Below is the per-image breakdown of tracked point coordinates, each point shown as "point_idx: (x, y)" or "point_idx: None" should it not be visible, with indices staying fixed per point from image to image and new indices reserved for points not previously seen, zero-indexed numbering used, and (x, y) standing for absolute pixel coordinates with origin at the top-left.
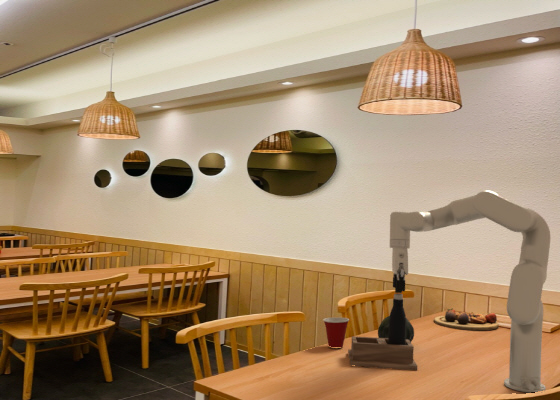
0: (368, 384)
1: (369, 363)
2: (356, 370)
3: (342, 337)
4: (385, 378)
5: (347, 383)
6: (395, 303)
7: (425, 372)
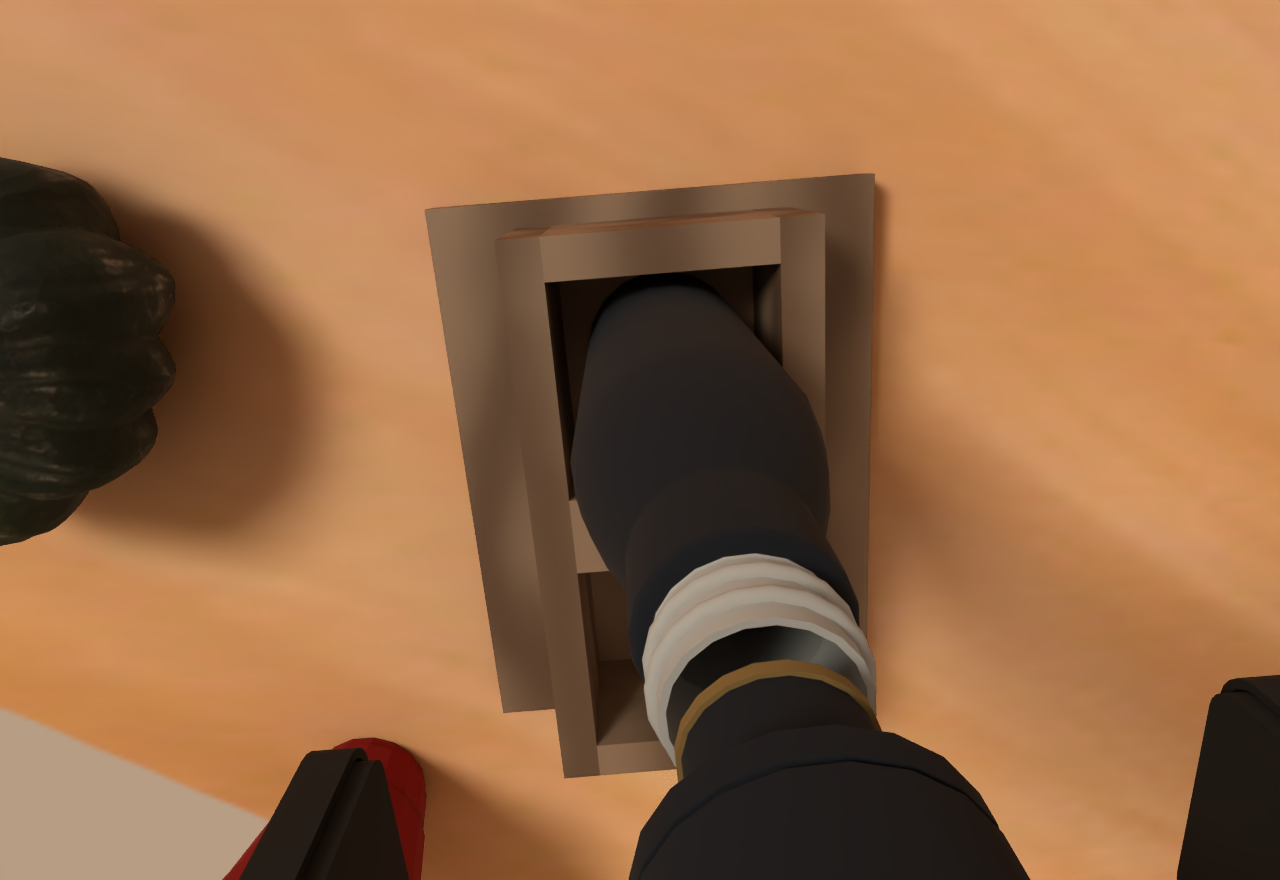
0: (1245, 547)
1: (866, 557)
2: (945, 623)
3: None
4: (1108, 438)
5: (1230, 664)
6: (815, 644)
7: (908, 104)
